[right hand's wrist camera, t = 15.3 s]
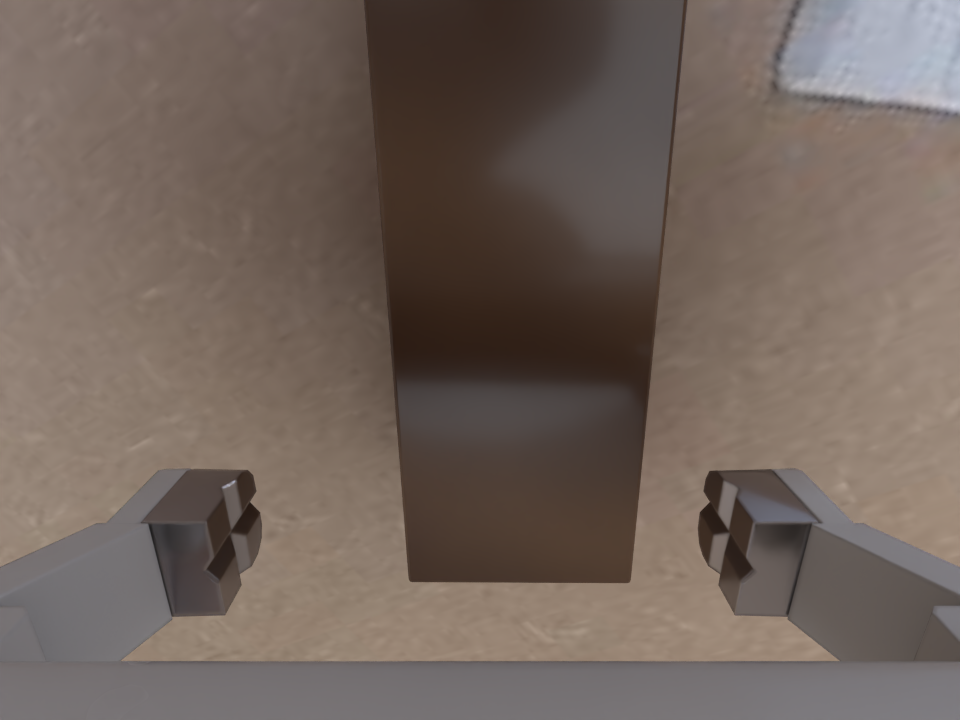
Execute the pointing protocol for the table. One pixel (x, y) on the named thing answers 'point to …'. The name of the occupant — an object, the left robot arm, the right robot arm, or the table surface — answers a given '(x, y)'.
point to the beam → (522, 273)
